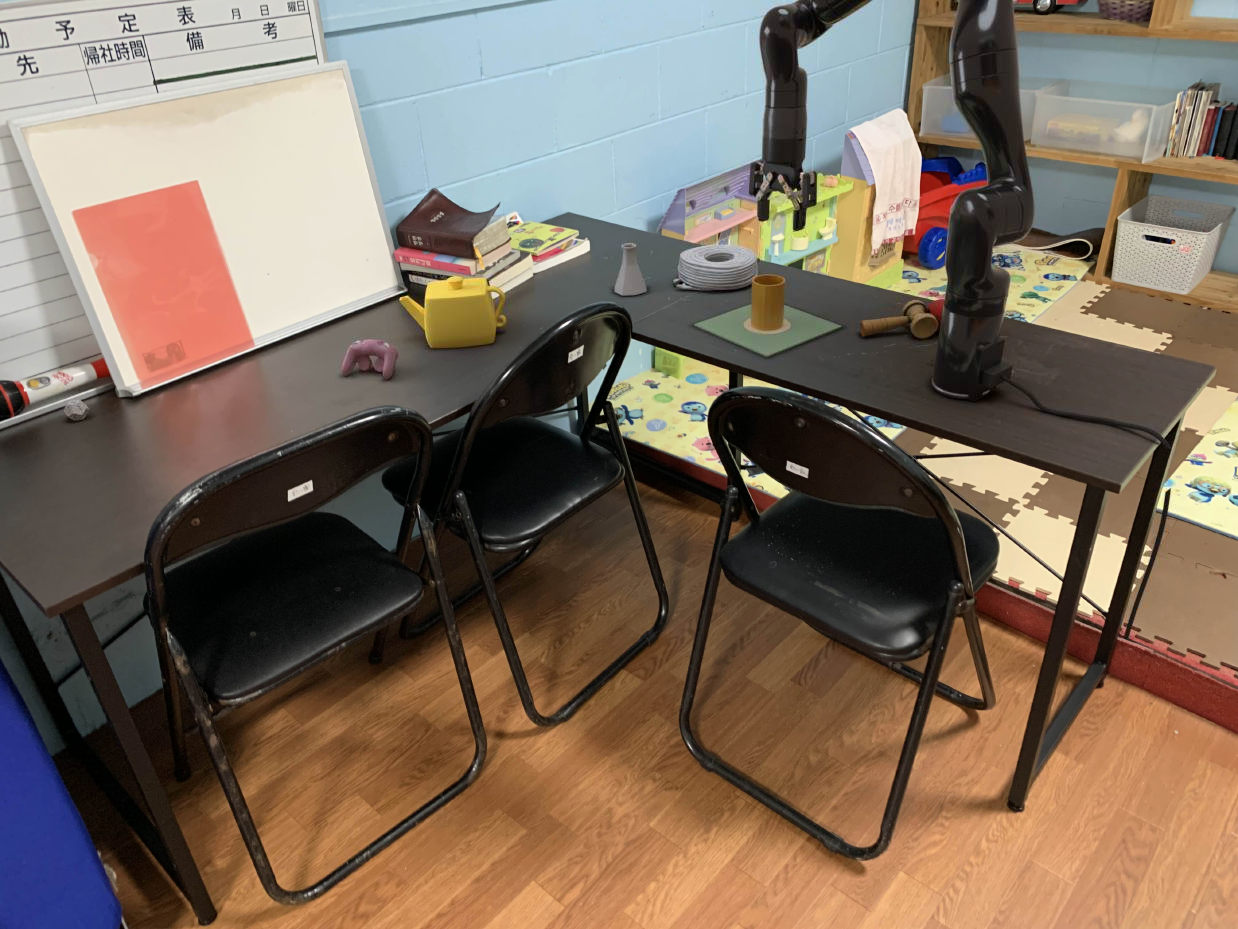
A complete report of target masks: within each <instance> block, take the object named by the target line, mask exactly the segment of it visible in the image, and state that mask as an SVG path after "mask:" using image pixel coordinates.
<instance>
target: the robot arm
mask: <svg viewBox="0 0 1238 929" xmlns="http://www.w3.org/2000/svg"><path fill="white" fill-rule="evenodd" d="M872 1H873V0H796V1H794V2H792V3H788V4H783V5H778V6H774V7H772V8H771V9H769V10H768V11H767V12H766V13H765V15H764V16H763V18H762V20H761V23H760V27H759V32H758V33H759V34H758V41H759V42H758V44H759V52H760V56H761V62H762V63H761V64H762V69H763V72H764V76H765V89H764V93H765V94H764V109H763V110H764V111H763V117H762V139H761V140H762V142H761V160H757V161H754V162H751V163H750V167H749V182H748V195H749V196H750V197H754V198H755V200H756V201H757V204H756V216H757V220H758V222H761V223H763V222H766V221H767V222H768V221H769V220H770V207H771V206H770V205H771V199H770V197H771V196H772V194H773V193H774V192H776V193H777V192H778V193H780V194H784V195H785V196H786V197H787V199H788V200H790V201H791V203H792V205H793V208H794V209H793V211H792V212H793V213H792V214H793V216H792V230H793V231H795V232H799V231H802V230H804V228H805V227H806V223H807V210H808V209H809V208H813V207H816V206H817V204H818V173H817V171H815V170H812V171H804V168H803V163H804V161H805V159H806V153H807V152H806V149H807V133H808V110H807V104H808V102H807V101H808V73H807V71H806V70H805V69H804V68H803V67H800V64H799V54H798V50H800V49H803V48H805V47H807V46H809V45H810V44H812V43H813V42H815V41H816V40H818V39H819V38H820V37H822V36H823V35H825V33H826V32H828V31H829V30H830V29H832V27H833V26H835V25H836V24H837V23H839V22H841V21H843V20H845V19H846V18H848V17H850V16H851V15H852V14H854V13H856V12H857V11H859V10H860V9H862V8H864V7H865V6H867V5H868V4H869V3H871V2H872ZM1014 7H1015V6H1014V0H958V4H957V8H956V14H955V18H954V22H953V27H952V31H951V34H950V41H949V53H948V54H949V57H948V58H949V59H948V60H949V71H950V72H949V74H950V85H951V94H952V98H953V101H954V104H955V107H956V108H957V111H958V112H959V114H960V115H961V118H962V120H964V122H965V124H966V125H967V127H968V128H969V129H970V131H971V133H972V134H973V135H974V137H975V139H976V141H977V142H978V144H979V146H980V148H981V152H982V155H983V159H984V163H985V169H986V179H987V180H986V181H987V185H986V184H985V185H981V186H976V187H971V188H968V189H965V190H962V191H961V192H960V193H959V194H958V195H957V196H956V198H955V199H954V201H953V203H952V206H951V209H950V214H949V217H948V226H947V235H946V236H947V237H946V248H945V260H944V267H945V273H946V280H947V281H946V287H945V293H944V299H945V300H944V306H943V313H942V320H941V326H940V331H939V334H938V339H937V340H938V341H937V346H936V348H937V349H936V354H935V359H934V370H933V374H932V378H931V387H932V389H933V390H934V391H936V393H939V394H940V395H943V396H945V397H948V398H952V399H958V400H967V401H971V402H977V401H978V400H980V399H982V398H984V397H986V396H989V395H990V394H992V393H994V392H996V391H997V386H998V385H1000V384H1002V383H1004V382H1006V383H1007V384H1010V386H1012V387H1014V388H1016V389H1017V390H1019V391H1021V392H1022V393H1023V394H1024V395H1026V396H1027V397H1028V398H1029V399H1030V400H1031V401H1032V403H1033V404H1034V405H1035V406H1036V407H1037V408H1038V409H1040V410H1041V411H1043V412H1046V413H1048V414H1051V415H1055V416H1061V417H1068V418H1075V419H1079V420H1086V421H1092V422H1100V423H1104V424H1109V425H1113V426H1117V427H1121V428H1127V429H1132V430H1137V431H1141V432H1144V433H1147V434H1149V435H1151V436H1152V437H1154V438H1155V439H1157V441H1159V443H1161V445H1162V446H1163V447H1164V448H1165V449H1168V450H1170V449H1172V446H1171V445H1170V443H1169V442H1168V441H1167V439H1165V438H1164V436H1163V435H1161V434H1160V433H1159V432H1157V431H1156V430H1154V429H1152V428H1150V427H1147V426H1144V425H1139V424H1136V423H1129V422H1124V421H1119V420H1115V419H1112V418H1107V417H1102V416H1097V415H1096V416H1095V415H1087V414H1082V413H1076V412H1072V411H1071V412H1070V411H1063V410H1057V409H1053V408H1050V407H1048V406H1045V405H1043V404H1042V403H1041V402H1040V401H1039V400H1038V399H1037V398H1036V396H1035V395H1034V394H1033V393H1032V392H1031V391H1030V390H1028V389H1027V388H1026V387H1024V386H1022V385H1021V384H1020V383H1018V382H1016V381H1014V380H1013V379H1011V378H1012V377H1011V376H1012V372H1013V367H1014V365H1013V364H1010V363H1007V362H1004V361H1002V360H1003V354H1004V349H1005V344H1006V337H1005V336H1002V335H1001V333H1002V329H1003V323H1004V318H1005V313H1006V309H1007V308H1006V307H1007V302H1008V297H1009V291H1010V285H1011V278H1012V276H1011V274H1010V273H1009V271H1008V270H1007V269H1005V268H1003V267H1002V266H999V265H997V264H993V263H992V262H993V251H994V248H997V247H1001V246H1006V245H1012V244H1015V243H1018V242H1021V241H1022V240H1024V239H1025V238H1026V237H1027V236H1028V235H1029V233H1030V232H1031V230H1032V228H1033V224H1034V222H1035V221H1034V220H1035V208H1036V206H1035V197H1034V190H1033V184H1032V177H1031V173H1030V166H1029V161H1028V155H1027V151H1026V142H1025V135H1024V124H1023V114H1022V103H1021V89H1020V88H1021V87H1020V86H1021V85H1020V63H1019V51H1018V40H1017V33H1016V32H1017V31H1016V19H1015V18H1016V17H1015V8H1014ZM764 177H765V178H764ZM795 190H796V191H795ZM1171 494H1172V487H1169V489H1167V490H1166V491H1164V499H1163V504H1162V510H1161V517H1160V522H1159V526H1158V531H1157V534H1156V537H1155V541H1154V544H1153V548H1152V551H1151V554H1150V557H1149V560H1148V563H1147V566H1146V569H1145V571H1144V575H1143V577H1142V579H1141V583H1140V586H1139V589H1138V592H1137V594H1136V596H1135V600H1134V603H1133V605H1132V609H1131V612H1130V614H1129V618H1128V621H1127V624H1126V627H1125V630H1124V633H1123V634H1124V635H1123V639H1124V640H1126V641H1127V640H1129V638H1130V634H1131V631H1132V628H1133V624H1134V621H1135V619H1136V615H1137V612H1138V609H1139V606H1140V603H1141V600H1142V597H1143V594H1144V592H1145V589H1146V587H1147V584H1148V581H1149V579H1150V575H1151V572H1152V570H1153V567H1154V565H1155V562H1156V559H1157V556H1158V552H1159V549H1160V545H1161V542H1162V539H1163V535H1164V531H1165V527H1166V523H1167V517H1168V512H1169V508H1170V500H1171Z"/></svg>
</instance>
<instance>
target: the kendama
mask: <svg viewBox="0 0 1238 929" xmlns="http://www.w3.org/2000/svg"><path fill="white" fill-rule="evenodd" d="M944 300H945V298H944V299H943V298H939V299H936V300H934V301H931V302H930V303H929V304H928V305H927V306H926V304H925V303H924V302H923V301H922V300H919V299H913V300H910V301H908V302H906V304H905V305H904V306H903V307H902V310H901V314H902V316H892V317H891V316H889V317H883V318H882V317H881V318H875V319H865V320H860V322H859V331H860V334H861V336H862V337H869V336H871V335H875V334H878V333H883V332H888V331H891V330H894V329H895V330H896V329H898V328H901V327H904V326H908V325H910V326H909V327H910V332H911V333H912V335H913V336H914V337H916V338H918V339H927V338H929V337H931V336H932V335H935V333H936V332H940V326H941V320H942V313H943V306H944Z"/></svg>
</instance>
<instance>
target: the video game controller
mask: <svg viewBox="0 0 1238 929" xmlns="http://www.w3.org/2000/svg"><path fill="white" fill-rule="evenodd" d="M372 356H373V357H377V358H376V359H375V361H374V363H373V361H372V358H371V357H372ZM398 359H399V351H398V349H397V347H396V346H394V345H392V344H390V343H388V342H386V341H383V340H379V339H373V338H372V339H371V338H370V339H362V340H356V341H353V342H352V343H351V344H350V346H349V347H348V348H347V351H346V353H345V357H344V359H343V362H342V365H341V372H342V375H343V376H344V377H347V376H349V375H351V373H352V372H353V370H354V369H355V367H356V364H357V365H358V367H359V369H360V370H361V371H369V370H371V369H372V368H374V370H375V371H376V372H380V373H382V376H383V378H384V380H389V379H391V377H392V376H393V374H394V372H395V369H396V365H397V364H396V363H397V360H398Z"/></svg>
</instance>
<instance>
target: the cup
mask: <svg viewBox="0 0 1238 929" xmlns="http://www.w3.org/2000/svg"><path fill="white" fill-rule="evenodd" d="M785 295H786V278H785V277H784V276H781V275H778V274H770V273H769V274H767V273H765V274H758V276H756V277H754V278H753V279H752V283H751V298H750V299H751V302H750V304H751V326H752V327H753V328H755V329H758V330H763V331H772V330H777V329H780V328H781V327H782V326H783V318H784V305H785V299H786V298H785Z"/></svg>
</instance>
